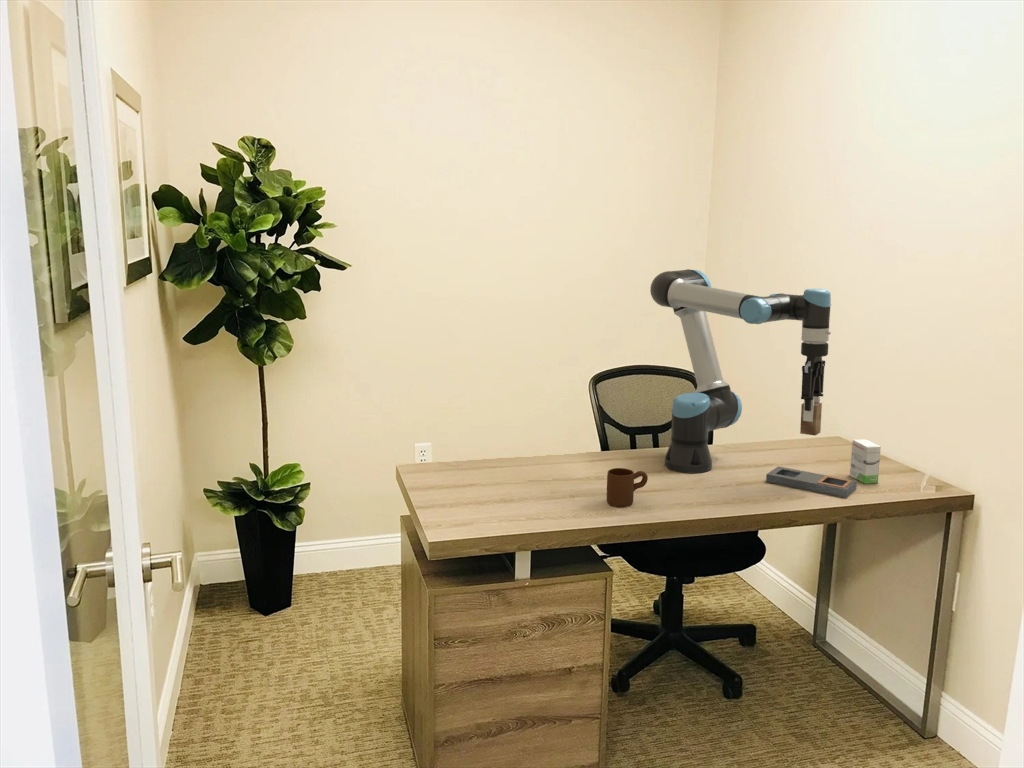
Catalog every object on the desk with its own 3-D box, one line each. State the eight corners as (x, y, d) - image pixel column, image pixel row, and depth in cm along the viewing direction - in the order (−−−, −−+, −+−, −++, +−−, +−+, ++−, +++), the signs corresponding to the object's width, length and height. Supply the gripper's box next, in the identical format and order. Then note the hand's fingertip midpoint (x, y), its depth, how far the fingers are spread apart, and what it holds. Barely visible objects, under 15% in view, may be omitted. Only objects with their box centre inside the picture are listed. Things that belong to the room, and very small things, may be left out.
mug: (641, 496, 248) (642, 465, 246) (651, 505, 241) (653, 473, 239) (602, 500, 245) (603, 468, 243) (611, 509, 238) (612, 476, 236)
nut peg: (800, 433, 255) (801, 404, 253) (805, 430, 258) (806, 401, 256) (815, 435, 252) (816, 405, 250) (820, 432, 255) (821, 403, 254)
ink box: (878, 483, 260) (882, 446, 258) (863, 484, 259) (866, 446, 257) (863, 474, 268) (866, 438, 266) (848, 475, 268) (851, 439, 265)
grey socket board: (765, 481, 261) (766, 473, 261) (777, 473, 269) (778, 465, 268) (846, 498, 247) (847, 489, 246) (856, 489, 255) (857, 480, 254)
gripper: (817, 346, 241) (813, 426, 245) (837, 339, 254) (833, 415, 259) (791, 344, 245) (788, 423, 250) (812, 337, 259) (808, 412, 263)
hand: (811, 419), depth 254 cm, fingers closed on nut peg, 4 cm apart
